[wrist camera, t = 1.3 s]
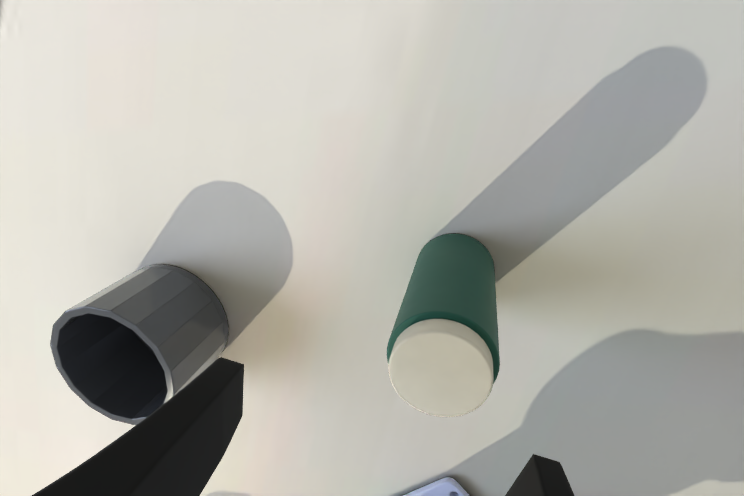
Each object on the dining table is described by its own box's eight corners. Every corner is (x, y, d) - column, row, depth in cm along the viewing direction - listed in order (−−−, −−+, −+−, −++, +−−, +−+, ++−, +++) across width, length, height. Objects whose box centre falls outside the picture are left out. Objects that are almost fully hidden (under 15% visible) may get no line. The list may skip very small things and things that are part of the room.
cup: (251, 331, 25) (199, 388, 20) (185, 382, 28) (127, 443, 23) (165, 241, 24) (91, 280, 19) (106, 303, 27) (29, 350, 22)
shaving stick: (510, 277, 20) (526, 393, 13) (447, 315, 21) (430, 439, 14) (461, 218, 19) (449, 303, 12) (401, 261, 21) (358, 360, 14)
